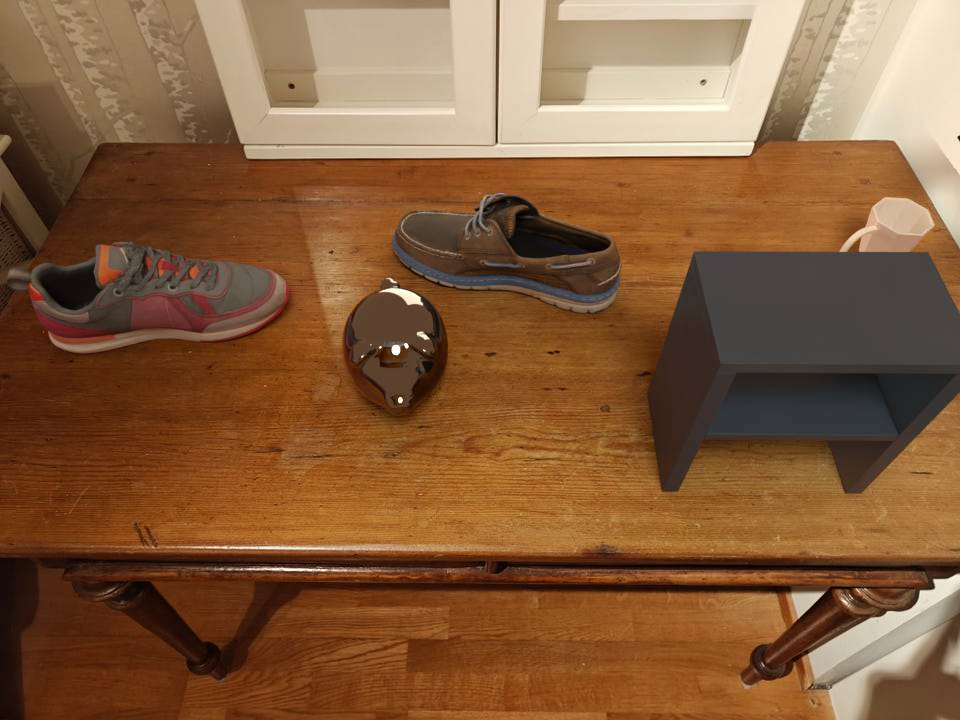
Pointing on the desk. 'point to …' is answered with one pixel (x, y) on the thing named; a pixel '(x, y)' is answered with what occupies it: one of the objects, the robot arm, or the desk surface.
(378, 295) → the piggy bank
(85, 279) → the sneaker
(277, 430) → the desk surface
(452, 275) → the boat shoe
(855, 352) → the shelf
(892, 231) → the cup
